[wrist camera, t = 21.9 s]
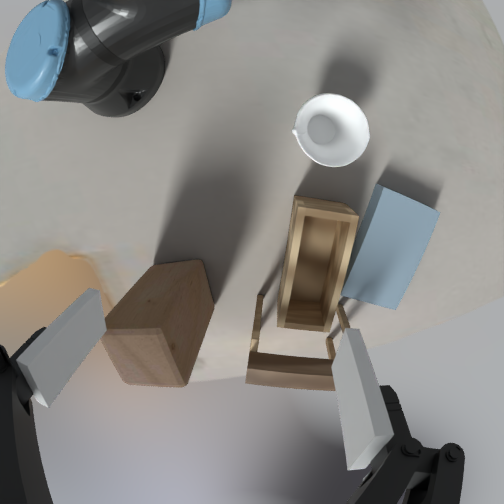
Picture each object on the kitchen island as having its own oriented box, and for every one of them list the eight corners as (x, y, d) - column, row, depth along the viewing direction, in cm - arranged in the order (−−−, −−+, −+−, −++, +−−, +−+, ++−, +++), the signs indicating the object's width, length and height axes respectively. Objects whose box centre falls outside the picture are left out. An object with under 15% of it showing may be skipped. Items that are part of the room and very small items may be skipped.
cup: (287, 103, 38) (290, 91, 29) (349, 105, 37) (369, 95, 28) (289, 161, 41) (292, 166, 32) (350, 162, 40) (371, 168, 31)
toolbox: (271, 192, 43) (269, 210, 32) (366, 207, 42) (395, 230, 31) (252, 333, 53) (245, 380, 41) (330, 342, 52) (340, 388, 41)
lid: (375, 183, 41) (383, 187, 38) (428, 206, 42) (440, 212, 38) (335, 283, 48) (340, 295, 44) (388, 298, 48) (395, 309, 45)
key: (249, 351, 39) (247, 368, 36) (352, 360, 38) (357, 376, 35) (247, 366, 40) (245, 383, 37) (346, 374, 39) (350, 391, 36)
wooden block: (203, 256, 48) (161, 327, 29) (216, 308, 51) (188, 390, 33) (150, 263, 49) (91, 328, 30) (166, 311, 52) (123, 386, 34)
